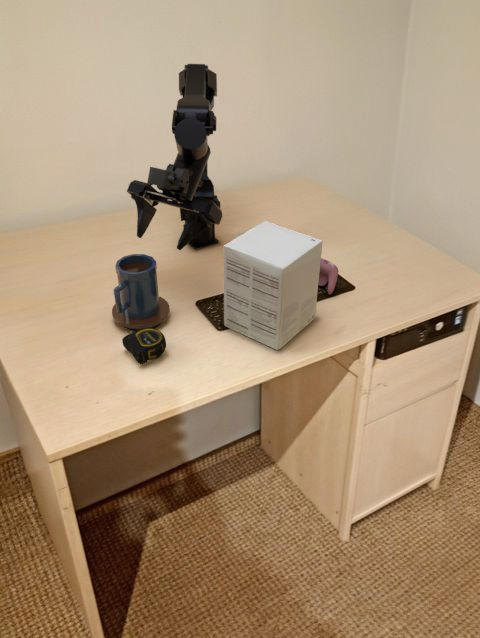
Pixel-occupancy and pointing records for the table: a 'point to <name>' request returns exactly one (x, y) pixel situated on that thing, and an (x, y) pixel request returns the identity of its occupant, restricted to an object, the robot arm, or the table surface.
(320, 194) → the table surface
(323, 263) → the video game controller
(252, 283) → the supplement box
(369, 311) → the table surface
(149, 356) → the tape measure
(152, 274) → the mug
